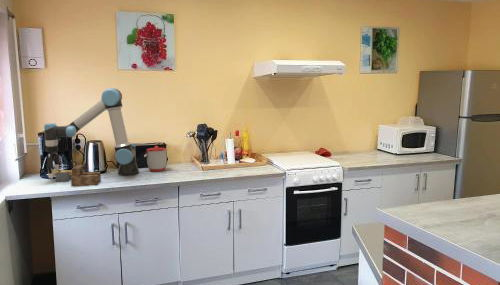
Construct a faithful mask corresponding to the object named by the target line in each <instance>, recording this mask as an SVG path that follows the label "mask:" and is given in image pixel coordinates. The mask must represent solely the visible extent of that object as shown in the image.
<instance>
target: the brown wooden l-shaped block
mask: <svg viewBox="0 0 500 285" xmlns="http://www.w3.org/2000/svg"><path fill="white" fill-rule="evenodd" d="M75 165H76V164H75ZM75 165H74V166H75ZM74 166H73V167H74ZM73 167H71V168H72V169H71V170H72V176H71V180H70V185H71V187H72V186H73V187H90V186H89V185H95V186H98V185H99V184H100V183H101V180H102V178H101V171H93V172H91V171H90V172H88V171H86V172H84V165H83V164H77V165H76V166H75V167H74V168H73ZM99 182H100V183H99Z"/></svg>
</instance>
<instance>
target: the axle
mask: <svg viewBox="0 0 500 285" xmlns="http://www.w3.org/2000/svg"><path fill="white" fill-rule="evenodd" d="M60 172H68V175H69V176H72V169H71V170H60V169H59V170H55V169H53V177H54V176H55V173H60Z"/></svg>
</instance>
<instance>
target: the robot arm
mask: <svg viewBox="0 0 500 285" xmlns="http://www.w3.org/2000/svg"><path fill="white" fill-rule="evenodd" d="M122 100H123V95H122V92H121V91H120V90H119V89H118V88H110V87H109V88H107V89H105V90H103V91H102V94H101V98H100V100H99V101H98V102H96V104H94V105H93V106H91V107H90V108H89V109H88V110H86V111H85V112H84V113H83V114H81V115H80V116H78V117H76V118H75V119H74V120H73V121H72V122H71V123H69V124H67V125H64V126H63V125H60V126H59V125H57V123H56V122H55V123H53V122H52V123H50V122H49V123H44V125H43V127H44V129H43V131H44V139H45V140H44V142H45V143H44V144H45V146H46V147H45V152H46V153H47V155H46V168H45V169H47V174H48V179H53V178H54V176H53V170H60V165H59V164H60V161H61V160H60V157H59V153H58V151H59V140H58V138H64V137H65V138H72V137H75V136H76V134H77V133H78V132H79V131H80V130H82V129H83V128H84V127H85V126H87V125H89V123H91V122H92V121H94V119H95V120H96V118H97V117H99V116H100V115H102V114H103V113H104V112H105V111H107V112H108V115H109V116H108V117H109V119H110V120H109V121H110V126H111V129H112V133H113V138H114V142H115V145H114V153H115V155H114V158H115V161H116V162H117V163H118V164H119V166H118V170H117V175H119V176H123V177H124V176H136V175H138V174H139V173H140V170H139V168H138V165H137V156H136V144H135V143H131V142H129V139H128V135H127V131H126V126H125V122H124V118H123V112H122V107H123V102H122ZM53 163H54V164H53ZM53 165H54V169H53Z"/></svg>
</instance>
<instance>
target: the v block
mask: <svg viewBox="0 0 500 285" xmlns="http://www.w3.org/2000/svg"><path fill="white" fill-rule="evenodd" d="M55 182H56V183H66V182H71V176H69V175H68V172H60V173H55Z"/></svg>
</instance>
